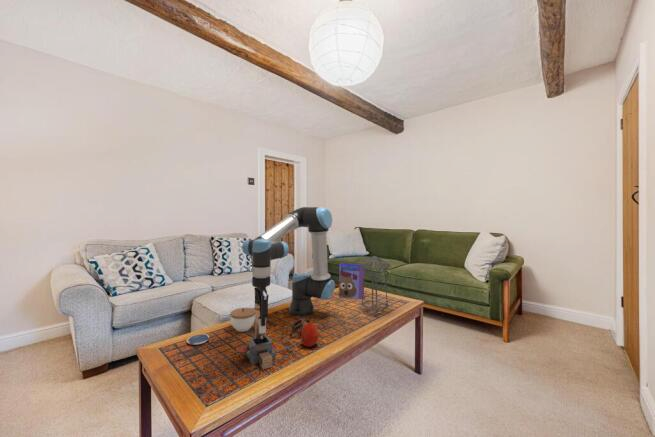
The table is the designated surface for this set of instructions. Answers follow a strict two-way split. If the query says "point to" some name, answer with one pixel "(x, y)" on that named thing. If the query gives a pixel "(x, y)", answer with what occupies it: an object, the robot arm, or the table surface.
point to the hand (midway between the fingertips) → (260, 330)
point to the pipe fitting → (257, 335)
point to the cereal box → (351, 281)
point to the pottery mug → (300, 326)
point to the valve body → (259, 352)
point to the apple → (309, 334)
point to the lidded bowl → (243, 319)
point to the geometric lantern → (375, 281)
